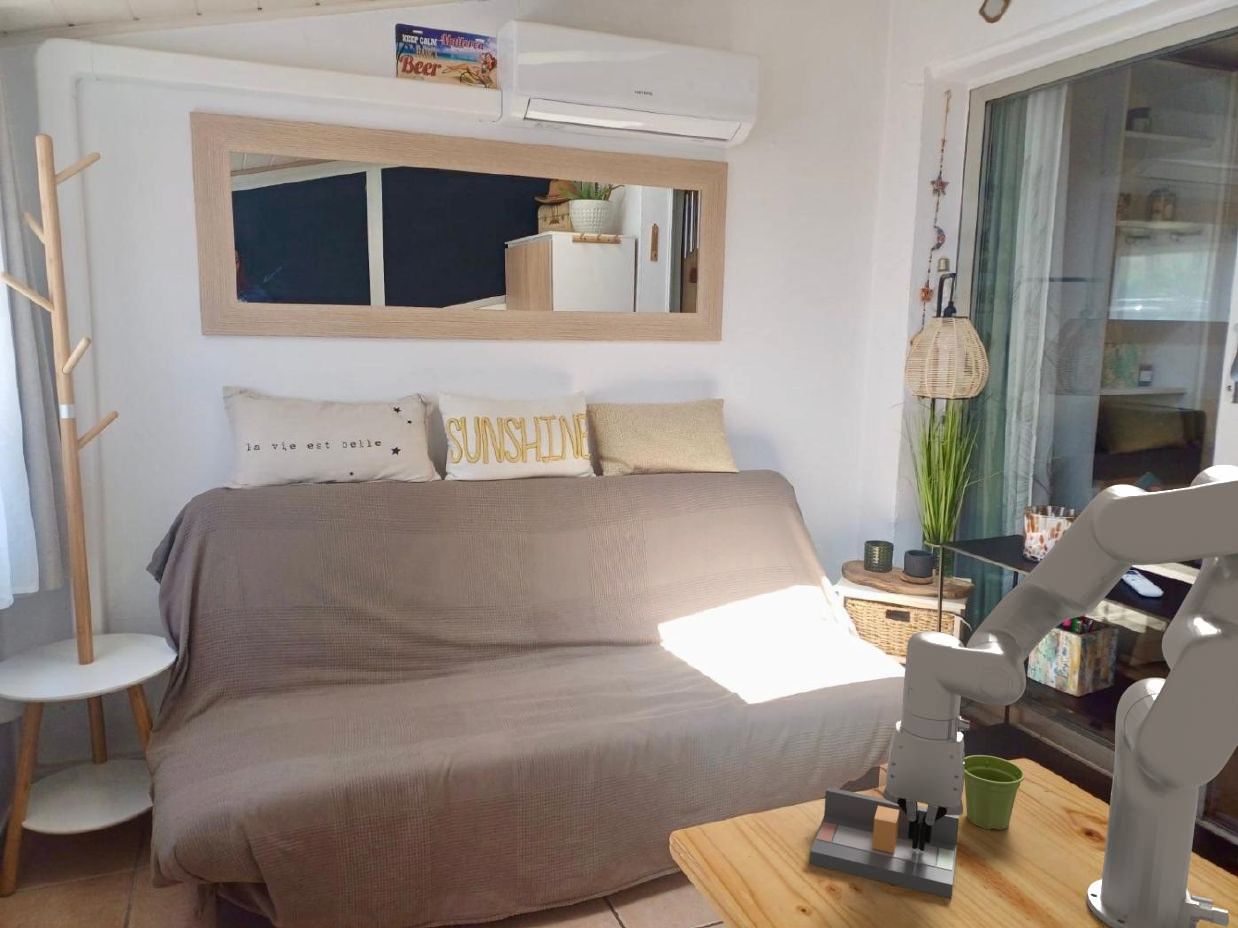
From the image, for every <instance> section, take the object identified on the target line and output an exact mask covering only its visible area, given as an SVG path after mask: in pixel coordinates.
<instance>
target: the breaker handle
mask: <svg viewBox="0 0 1238 928" xmlns="http://www.w3.org/2000/svg"><path fill="white" fill-rule="evenodd" d="M898 822H899V810H896V809H892V808H887V807H882V806H878V807H877V811H876V814H875V818H874V831H873V845H872V848H874V849H878V850H882V851H887V852H891V853H894V852H895V847H896V843H897V836H898Z"/></svg>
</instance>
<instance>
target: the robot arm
mask: <svg viewBox="0 0 1238 928" xmlns="http://www.w3.org/2000/svg"><path fill="white" fill-rule="evenodd" d="M1200 559H1201V560H1202V559H1204V560H1203V562H1202V565H1201V567H1200V569H1199V571H1198V574H1197V575H1196V578H1195V580H1194V582H1193V584H1192V586H1190V590H1189V591H1188V592H1187V594H1186V596H1185V598H1184V600H1183V601H1182V603H1181V605H1180V607H1179V609H1178V610H1177V612H1176V614H1175V615H1174V617H1173V619H1172V621H1171V622H1170V624H1169V625H1168V627H1167V628H1166V631H1165V632H1164V634H1163V637H1162V641H1161V650H1162V654H1163V655H1162V656H1163V658H1164V660H1165V661H1166V664H1167V666H1168V668H1169V670H1170V671H1169V673H1168V675H1167V677H1166V678H1162V677H1148V678H1144V679H1140V680H1138V681H1136V682H1134V683H1133V684H1131V685H1130V686H1129V687H1127V689H1126V690H1125V691H1124V692H1123V693H1122V695H1121V696H1120V699H1119V701H1118V704H1117V708H1116V712H1115V725H1114V726H1115V731H1114V732H1115V733H1114V760H1113V761H1114V764H1113V776H1112V784H1111V792H1110V799H1109V800H1110V802H1109V811H1108V819H1107V820H1108V821H1107V829H1106V836H1105V837H1106V839H1105V848H1104V856H1103V857H1104V858H1103V866H1102V875H1101V879H1099V880H1096V881H1093V883H1092V882H1091V884H1090V885H1089V887H1088V888H1087V892H1086V903H1087V905H1088V908H1090V910H1091V911H1092V913H1093V914H1094V915H1095V916H1096V917H1097V918H1098V919H1099V920H1101V921H1102V922H1103V923H1105V924H1106V925H1107V926H1108V927H1110V928H1197V927H1198V923H1199V921H1200V920H1201V921H1204V922H1209V923H1210V924H1216V925H1219V926H1223V927H1228V926H1229V924H1230V923H1229V921H1230V915H1229V910H1228V909H1223V908H1219V907H1215V906H1214V899H1212V898H1208V897H1205V896H1199V895H1198V896H1197V895H1193V894H1192V892H1190V891H1189V889H1188V883H1189V882H1188V881H1189V874H1190V865H1191V858H1192V850H1193V840H1194V833H1195V824H1196V817H1197V812H1198V811H1197V810H1198V801H1199V791H1200V787H1201V786H1204V785H1206V784H1208V783H1209V782H1210V781H1212V780H1213V779H1215V777H1217V775H1219V773H1220V772H1221V771H1222V770H1223V768H1224V767H1225V765H1226V764H1227V763H1228V761H1229V759H1230V758H1231V756H1232V755H1233V754H1234V752H1235V750H1236V749H1237V747H1238V466H1237V465H1234V464H1220V465H1214V466H1210V467H1208V468H1206V469H1204V470H1202V471H1201V472H1199V473H1198V474H1197V475H1196V476H1195V478H1194V479H1193V480H1192V482H1191V484H1190V486H1189V487H1184V488H1177V489H1172V490H1171V489H1170V490H1163V491H1155V492H1148V491H1146V490H1145V489H1142V488H1140V487H1137V486H1134V485H1130V484H1116V485H1112V486H1109V487H1106V488H1105V489H1103V490H1101V492H1099V493H1097V494H1096V496H1094V498H1093V499H1092V500H1090V502H1089V503H1088V504H1087V505H1086V506H1085V508H1084V509H1083V510H1082V511H1081V513H1080V514H1079V515H1078V516H1077V517H1076V518H1075V519H1074V521H1073V522H1072V523H1071V524H1070V526H1068V528H1067V529H1066V530H1065V532H1064V533H1063V534H1062V536H1061V537H1060V538H1059V539H1058V540H1057V542H1056V543H1055V544H1054V545H1053V546H1052V547H1051V548H1050V549H1049V550H1048V551H1047V553H1046V554H1045V555H1044V556H1043V558H1042V559H1041V560H1040V561H1039V562H1038V564H1037V565H1036V566H1035V567H1034V568H1033V569H1032V570H1031V571H1030V572H1029V573H1028V574H1027V575H1025V576H1024V578H1023V579H1022V580H1021V581H1019V583H1018V584H1016V586H1014V587H1013V589H1011V591H1009V592H1008V593H1007V594H1006V595H1005V596H1004V597H1003V598H1002V599H1001V600H1000V601H999V602H998V604H996V605H995V607H994V608H993V609H992V611H990V613H989V614H988V615H987V616H986V618H985V619H984V620H983V621H982V622H981V624H980V625H979V626H978V628H977V629H976V630H975V631H974V633H972V635H971V636H970V638H969V640H968V641H967V644H966V647H965V645H964V643H963V641H961V640H960V639H959V638H957V637H956V636H954V635H951V634H948V633H944V632H941V631H940V632H939V631H930V630H929V631H928V630H926V631H925V630H923V631H918V632H915V633H914V634H913V633H912V634H911V636H910V637H909V638H908V640H907V645H906V655H905V656H906V657H905V667H904V679H903V680H904V681H903V690H902V691H903V694H902V704H901V716H900V718H901V719H900V720H899V721H897V722H895V725H894V728H893V732H892V737H891V741H890V746H889V754H888V759H887V760H888V761H887V768H886V774H885V775H886V776H885V788H884V790H883V793H882V799H886V800H888V801H891V802H893V803H896V804H898V805H899V806H900V808H901V809H902V810H903V811H904V812H905V814H906V815H907V818H908V820H909V832H908V839H912V840H913V843H912V849H916V848H917V849H918V843H919V849H920V850H921V851H924V847H925V843H929V844H930V841H931V831H932V825H933V824H934V822H935V821H937V820H938V819H940V818H942V817H943V816H945V815H959V816H962V815H963V813H964V805H963V791H964V787H965V781H964V765H965V756H966V755H965V740H964V734H963V733H962V732H961V731H969V732H970V724H971V721H970V720H967V719H965V718H962V715H960V711H961V700H962V699H961V698H962V697H963V698H966V699H970V700H972V701H974V702H979V703H981V704H985V705H989V706H993V707H1003V706H1008V705H1011V704H1014V703H1015V702H1017V701H1018V700H1020V699H1021V697H1022V696H1023V694H1024V692H1025V689H1026V686H1027V675H1026V669H1025V664H1024V662H1025V661H1026V660H1027V658H1028V657H1029V656H1030V654H1031V653H1032V652H1034V651H1033V650H1035V648H1036V647H1037V646H1038V645H1039V644H1040V643H1041V642H1042V641H1043V640H1044V639H1045V637H1046V636H1048V635H1049V634H1050V632H1052V631H1053V630H1054V629H1055V628H1056V627H1058V626H1060V625H1061V624H1062V623H1064V622H1066V621H1068V620H1070V619H1075V618H1079V617H1083V616H1085V615H1087V614H1090V613H1092V612H1093V611H1094V610H1095V609H1096V608H1097V607H1098V605H1100V603H1101V602H1102V601H1103V600H1104V599H1105V597H1106V596H1107V595H1108V594H1109V593H1110V592H1111V590H1112V589H1113V588H1114V587H1115V586H1117V584H1118V583H1119V582H1120V580H1121V579H1122V578H1123V577H1124V576H1125V575H1126V573H1127V572H1128V571H1129V570H1130V569H1131V568H1132V567H1133V566H1152V565H1153V566H1154V565H1163V564H1171V563H1181V562H1188V561H1193V560H1194V561H1195V560H1200ZM919 803H921V804H925V805H928V806H927V807H926V808H927V811H926V812H925V813H924V816H922V821H921V815H920V812H919V810H918V806H919ZM920 824H921V827H920ZM919 836H920V839H919Z"/></svg>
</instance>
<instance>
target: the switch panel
mask: <svg viewBox="0 0 1238 928" xmlns="http://www.w3.org/2000/svg"><path fill="white" fill-rule="evenodd" d="M824 799H825V800H824V813H823V817H822V820H821V822H820V825H819V828H818V830H817V833H816V836H815V838H814V840H813V843H812V845H811V848H810V851H809V865H811V866H812V865H813V866H815V867H820V868H824V869H828V870H833V871H837V872H841V873H845V874H848V875H852V876H853V875H854V876H858V877H862V878H866V879H869V880H872V881H878V882H881V883H885V884H886V883H887V884H890V885H893V886H898V887H901V888H906V889H911V890H914V891H918V892H923V893H927V894H930V895H935V896H938V897H939V896H940V897H944V898H948V899H952V896H953V888H954V887H953V886H954V876H955V867H956V859H957V858H956V857H957V848H958V847H957V846H958V845H957V844H958V836H959V835H958V833H959V823H960V822H959V821H960V815H945V816H943V817H942V818H940V819H938V820H937V821H935V822H934V824H933V825H932V831H931V841H930V844H929V843H925V847H924V851H921V850H920V849H919V843H918V849H917V848H916V849H912V843H913V840H912V839H908V832H909V820H908V818H907V815H906V814H905V812H904V811H903V810H902V809H901V808H900V806H899V805H898V804H896V803H893V802H891V801H888V800H886V799H884V798H883V797H882V798H881V797H876V796H872V795H867V794H862V793H857V792H855V791H849V790H844V789H840V788H836V787H835V788H833V787H828V786H827V787H826V789H825V797H824ZM878 806H882V807H887V808H892V809H896V810H899V822H898V836H897V843H896V847H895V852H894V853H891V852H887V851H882V850H878V849H874V848H872V845H873V831H874V818H875V814H876V811H877V807H878ZM927 808H928V807H926V806H925V807H924V806H919V805H918V810H919V812H920V815H921V821H922V816H924V813H925V812H926V811H927ZM920 827H921V824H920ZM919 839H920V836H919Z"/></svg>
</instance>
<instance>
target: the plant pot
mask: <svg viewBox="0 0 1238 928" xmlns="http://www.w3.org/2000/svg"><path fill="white" fill-rule="evenodd" d="M1025 776H1026V775H1025V771H1024V770H1023V769H1022V768H1021V767H1020V766H1018V765H1017V764H1016V763H1014V762H1012V761H1009V760H1006V759H1003V758H1001V757H997V756H993V755H982V754H979V755H978V754H976V755H975V754H974V755H968V756H966V757H965V765H964V792H965V806H966V809H965V810H966V816H967V817H968V820H969V822H971V824H974V825H975V826H977V827H978V828H979V827H980V828H982V829H985V830H990V829H996V830H997V831H1001V830H1005V829H1007V828H1008V827H1009V826H1010V822H1011V818H1012V817H1011V816H1012V812H1013V808H1014V805H1015V800H1016V796H1017V792H1018V789H1019V788H1020V785H1021V783H1022V782H1023V781H1024V779H1025Z"/></svg>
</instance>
